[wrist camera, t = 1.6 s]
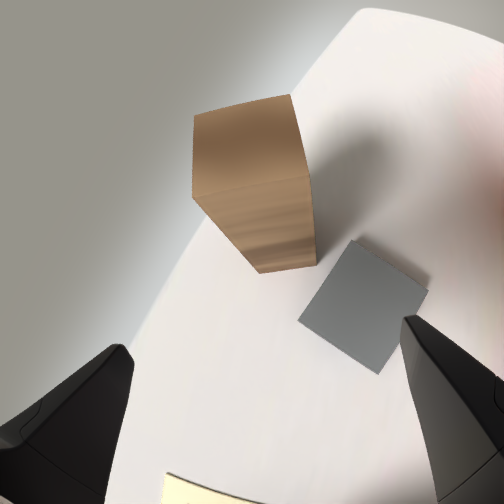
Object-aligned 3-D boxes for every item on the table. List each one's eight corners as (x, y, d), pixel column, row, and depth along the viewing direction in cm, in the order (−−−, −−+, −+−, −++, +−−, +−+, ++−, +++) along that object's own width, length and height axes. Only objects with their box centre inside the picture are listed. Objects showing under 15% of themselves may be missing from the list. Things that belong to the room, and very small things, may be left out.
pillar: (316, 265, 22) (309, 175, 10) (259, 273, 23) (192, 197, 11) (307, 212, 24) (289, 94, 12) (254, 221, 25) (194, 115, 13)
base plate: (422, 293, 20) (428, 290, 18) (374, 372, 19) (378, 374, 18) (349, 246, 22) (351, 239, 21) (299, 321, 21) (297, 320, 20)
